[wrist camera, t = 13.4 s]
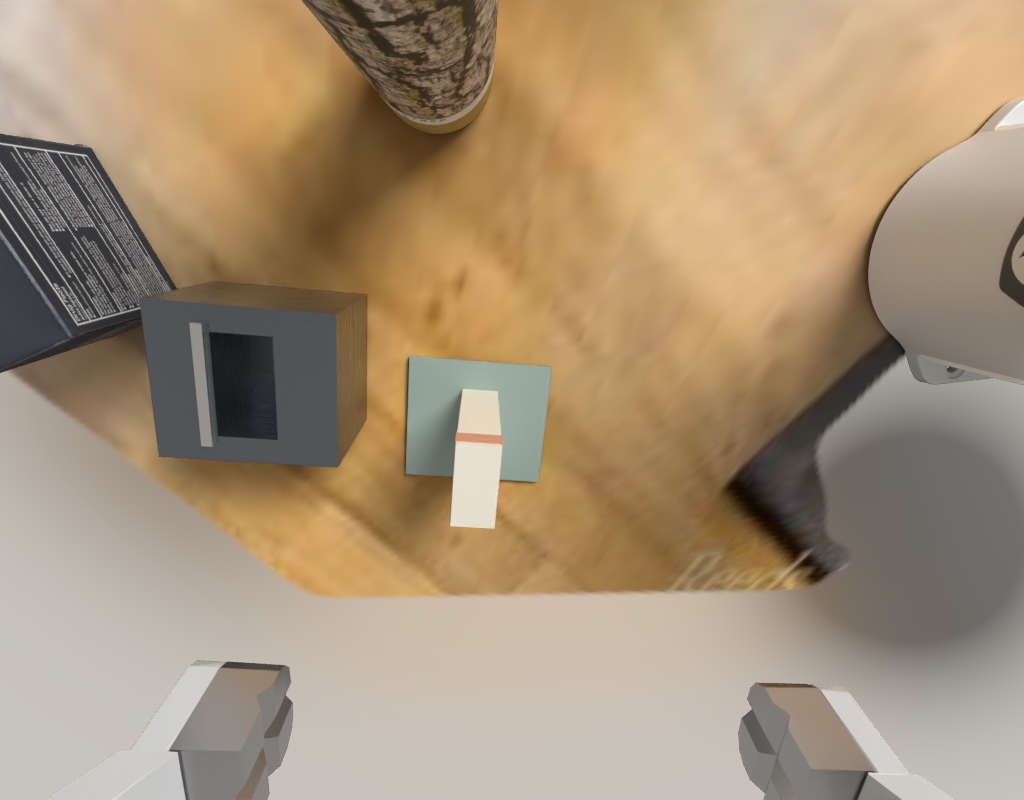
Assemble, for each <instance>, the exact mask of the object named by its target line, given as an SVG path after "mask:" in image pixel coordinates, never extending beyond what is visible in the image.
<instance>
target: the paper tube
mask: <svg viewBox="0 0 1024 800" xmlns="http://www.w3.org/2000/svg"><path fill="white" fill-rule="evenodd" d="M302 1H303V3H304V4H305V5H306V6H307V7H308V9H309V10H310V11H311V12H312V14H313V15H314V16H315V17H316V18H317V20H318V21H319V22H320V23H321V24H322V26H323V27H324V28H325V29H326V31H327V32H328V33H329V34H330V35H331V37H332V38H333V39H334V40H335V41H336V43H337V44H338V45H339V46H340V48H341V49H342V50H343V51H344V52H345V54H346V55H347V56H348V57H349V58H350V60H351V61H352V62H353V63H354V65H355V66H356V67H357V68H358V69H359V71H360V72H361V73H362V74H363V75H364V77H365V78H366V79H367V80H368V82H369V83H370V84H371V85H372V86H373V88H374V89H375V90H376V91H377V92H378V94H379V95H380V96H381V97H382V99H383V100H384V101H385V102H386V103H387V104H388V105H389V106H390V108H391V109H392V110H393V111H394V112H395V114H396V115H397V116H398V117H399V118H400V119H402V120H403V121H404V122H405V123H407V124H408V125H410V126H411V127H413V128H415V129H417V130H420V131H423V132H426V133H432V134H445V133H450V132H454V131H457V130H459V129H461V128H463V127H465V126H466V125H468V124H469V123H470V122H471V121H473V120H474V119H475V118H476V117H477V115H478V114H479V113H480V112H481V110H482V109H483V107H484V105H485V104H486V101H487V99H488V97H489V94H490V91H491V86H492V79H493V67H494V57H495V42H496V27H497V12H498V0H302Z"/></svg>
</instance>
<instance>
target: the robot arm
mask: <svg viewBox="0 0 1024 800" xmlns="http://www.w3.org/2000/svg"><path fill="white" fill-rule="evenodd" d="M868 283H869V291H870V296H871V300H872V304H873V307H874V309H875V312H876V314H877V316H878V318H879V319H880V321H881V323H882V324H883V326H884V327H885V328H886V329H887V330H888V332H889V333H890V334H891V335H892V336H893V337H894V338H895V339H896V340H897V341H898V342H899V343H900V344H901V345H902V346H903V348H904V350H905V352H906V356H907V360H908V363H909V367H910V369H911V372H912V374H913V376H914V377H915V378H916V379H917V380H918V381H920V382H924V383H929V384H945V383H954V382H962V381H970V380H979V379H988V378H998V379H1002V380H1005V381H1010V382H1013V383H1017V384H1021V385H1024V97H1023V98H1016V99H1013V100H1011V101H1009V102H1008V103H1006V104H1005V105H1004V106H1003V107H1001V108H1000V109H999V110H998V111H997V112H996V113H995V114H994V115H993V116H992V117H991V118H990V119H989V120H988V121H987V122H986V124H985V125H984V126H983V127H982V128H981V129H980V130H979V131H978V132H977V133H976V134H975V135H973V136H972V137H971V138H969V139H967V140H966V141H964V142H962V143H960V144H959V145H957V146H955V147H953V148H951V149H949V150H947V151H945V152H944V153H942V154H940V155H939V156H937V157H936V158H934V159H933V160H931V161H930V162H929V163H927V164H926V165H925V166H924V167H922V168H921V169H920V170H919V171H918V172H917V173H916V174H915V175H914V176H913V177H912V178H911V179H910V180H909V181H908V182H907V183H906V184H905V185H904V186H903V188H902V189H901V190H900V191H899V193H898V194H897V195H896V197H895V198H894V200H893V201H892V202H891V204H890V206H889V207H888V209H887V211H886V213H885V214H884V216H883V218H882V220H881V222H880V225H879V227H878V230H877V232H876V235H875V238H874V241H873V245H872V248H871V253H870V259H869V268H868ZM947 366H949V368H948V369H947ZM290 683H291V679H290V670H289V667H287V666H285V665H271V664H256V663H241V662H217V661H200V660H197V661H195V662H194V663H193V664H191V665H190V666H189V667H188V668H187V669H186V670H185V672H184V673H183V675H182V676H181V678H180V679H179V680H178V682H177V683H176V685H175V686H174V688H173V689H172V691H171V692H170V694H169V695H168V696H167V698H166V699H165V701H164V702H163V704H162V705H161V707H160V708H159V709H158V711H157V712H156V714H155V715H154V717H153V718H152V719H151V721H150V722H149V724H148V725H147V727H146V728H145V729H144V731H143V732H142V734H141V735H140V737H139V738H138V740H137V741H136V743H135V744H134V746H133V747H132V748H131V750H120V751H118V752H117V753H115V754H114V755H112V756H111V757H109V758H108V759H106V760H105V761H103V762H102V763H100V764H99V765H97V766H96V767H94V768H93V769H91V770H90V771H89V772H87V773H85V774H84V775H82V776H81V777H80V778H78V779H77V780H75V781H74V782H72V783H71V784H69V785H68V786H66V787H65V788H63V789H62V790H60V791H59V792H57V793H56V794H54V795H53V796H51V797H50V798H48V799H47V800H267V798H268V796H269V783H268V776H269V775H270V774H272V773H273V772H274V771H275V770H276V769H277V768H278V767H280V765H281V763H282V760H283V758H284V755H285V752H286V750H287V747H288V743H289V738H290V734H291V730H292V722H293V703H292V701H291V700H290V699H289V698H288V697H287V696H286V692H287V690H288V688H289V685H290ZM747 700H748V702H749V704H750V706H751V708H752V710H751V711H750V712H748V713H747V714H746V715H745V716H744V717H743V718H742V719H741V724H740V728H739V732H738V735H739V750H740V754H741V757H742V761H743V765H744V767H745V769H746V772H747V774H748V776H749V778H750V780H751V781H752V782H753V783H754V784H755V785H756V786H758V787H759V788H760V789H761V790H762V791H763V792H764V793H765V796H764V800H953V799H952V798H951V797H949V796H948V795H947V794H945V793H944V792H942V791H940V789H938V788H937V787H935V786H934V785H932V784H931V783H930V782H928V781H927V780H925V779H924V778H922V777H921V776H920V775H917V774H909V773H908V772H907V770H906V769H905V767H904V766H903V765H902V763H901V762H900V761H899V759H898V758H897V757H896V755H895V754H894V753H893V751H892V750H891V749H890V747H889V746H888V745H887V743H886V742H885V741H884V739H883V738H882V737H881V735H880V734H879V732H878V731H877V730H876V728H875V727H874V726H873V724H872V723H871V722H870V720H869V719H868V718H867V717H866V715H865V714H864V712H863V711H862V710H861V708H860V707H859V706H858V704H857V703H856V702H855V700H854V699H853V697H852V696H851V695H850V694H849V692H848V691H847V690H846V689H844V688H843V687H841V686H840V685H815V684H812V685H808V684H785V683H782V684H781V683H755V684H754V685H753V686H752V687H751V688H750V691H749V695H748V698H747Z"/></svg>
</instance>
